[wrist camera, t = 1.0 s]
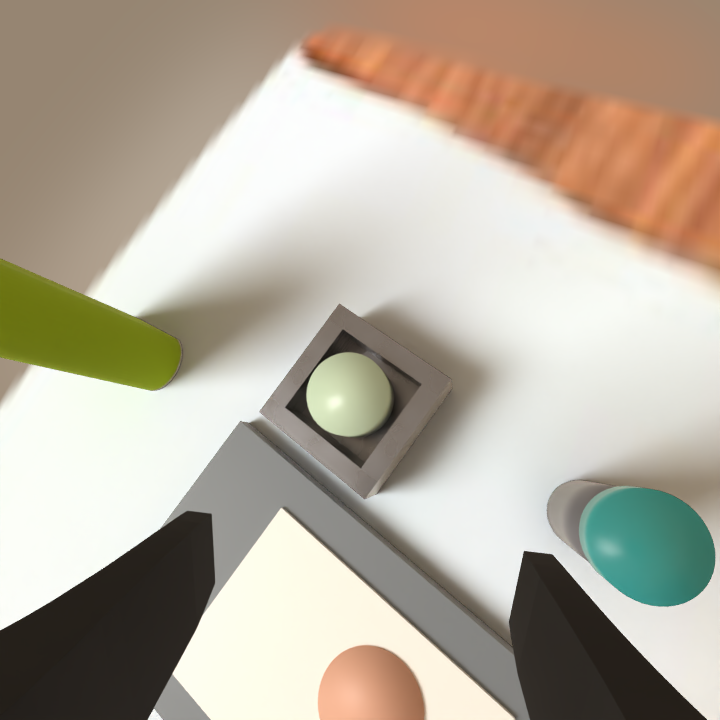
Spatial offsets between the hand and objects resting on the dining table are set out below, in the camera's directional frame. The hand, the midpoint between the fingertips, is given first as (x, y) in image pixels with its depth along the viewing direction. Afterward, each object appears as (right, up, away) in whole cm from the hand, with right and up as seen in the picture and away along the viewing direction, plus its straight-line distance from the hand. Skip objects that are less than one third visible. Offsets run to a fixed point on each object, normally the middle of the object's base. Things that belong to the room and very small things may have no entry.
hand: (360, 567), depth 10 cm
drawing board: (-3, -10, +12) cm, 16 cm away
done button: (0, +3, +13) cm, 13 cm away
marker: (+11, -3, +11) cm, 16 cm away
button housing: (0, +2, +15) cm, 15 cm away
